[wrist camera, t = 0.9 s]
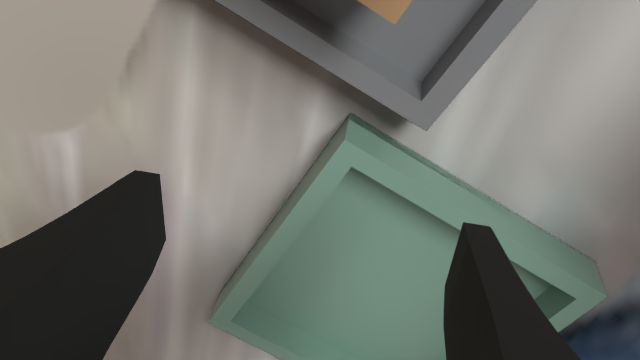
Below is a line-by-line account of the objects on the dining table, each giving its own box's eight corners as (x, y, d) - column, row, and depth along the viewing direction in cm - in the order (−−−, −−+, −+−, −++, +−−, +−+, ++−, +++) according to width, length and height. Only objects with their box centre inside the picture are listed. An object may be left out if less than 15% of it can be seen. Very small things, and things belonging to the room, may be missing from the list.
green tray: (595, 261, 24) (607, 296, 22) (421, 395, 31) (421, 430, 29) (350, 113, 22) (344, 139, 20) (220, 292, 29) (208, 322, 27)
